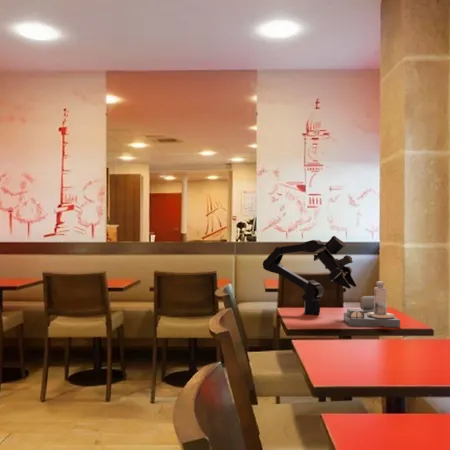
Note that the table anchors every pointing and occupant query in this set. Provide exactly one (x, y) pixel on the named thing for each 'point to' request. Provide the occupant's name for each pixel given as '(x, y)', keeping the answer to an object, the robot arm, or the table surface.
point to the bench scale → (370, 319)
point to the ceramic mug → (367, 303)
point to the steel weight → (380, 299)
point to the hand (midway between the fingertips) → (352, 287)
